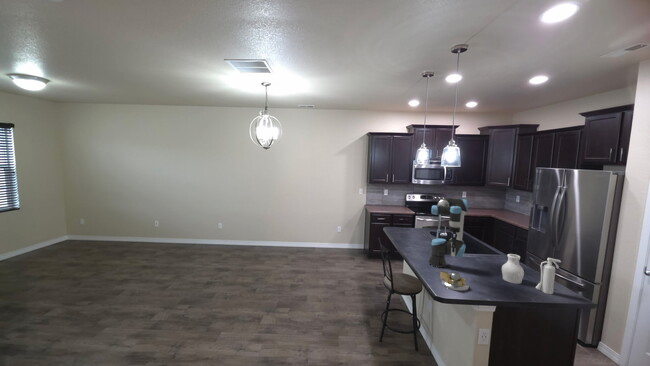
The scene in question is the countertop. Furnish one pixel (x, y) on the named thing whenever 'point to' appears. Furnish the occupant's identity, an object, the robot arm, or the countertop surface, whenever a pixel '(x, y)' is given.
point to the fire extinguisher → (547, 276)
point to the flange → (455, 283)
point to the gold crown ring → (448, 279)
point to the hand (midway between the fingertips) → (452, 253)
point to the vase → (513, 270)
